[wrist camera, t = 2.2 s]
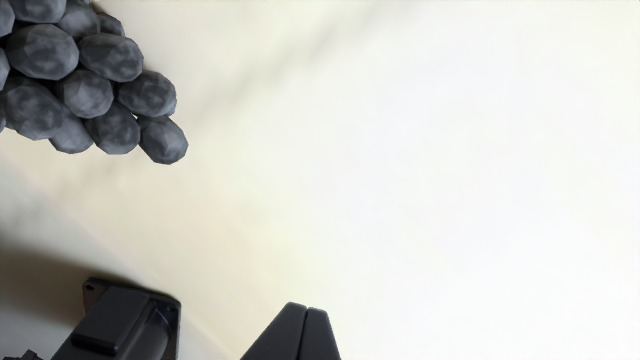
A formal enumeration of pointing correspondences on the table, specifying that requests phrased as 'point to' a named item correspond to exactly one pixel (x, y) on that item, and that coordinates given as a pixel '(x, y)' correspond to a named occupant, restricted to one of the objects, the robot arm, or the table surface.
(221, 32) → the table surface
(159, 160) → the fruit
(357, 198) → the table surface
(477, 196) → the table surface
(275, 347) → the robot arm
